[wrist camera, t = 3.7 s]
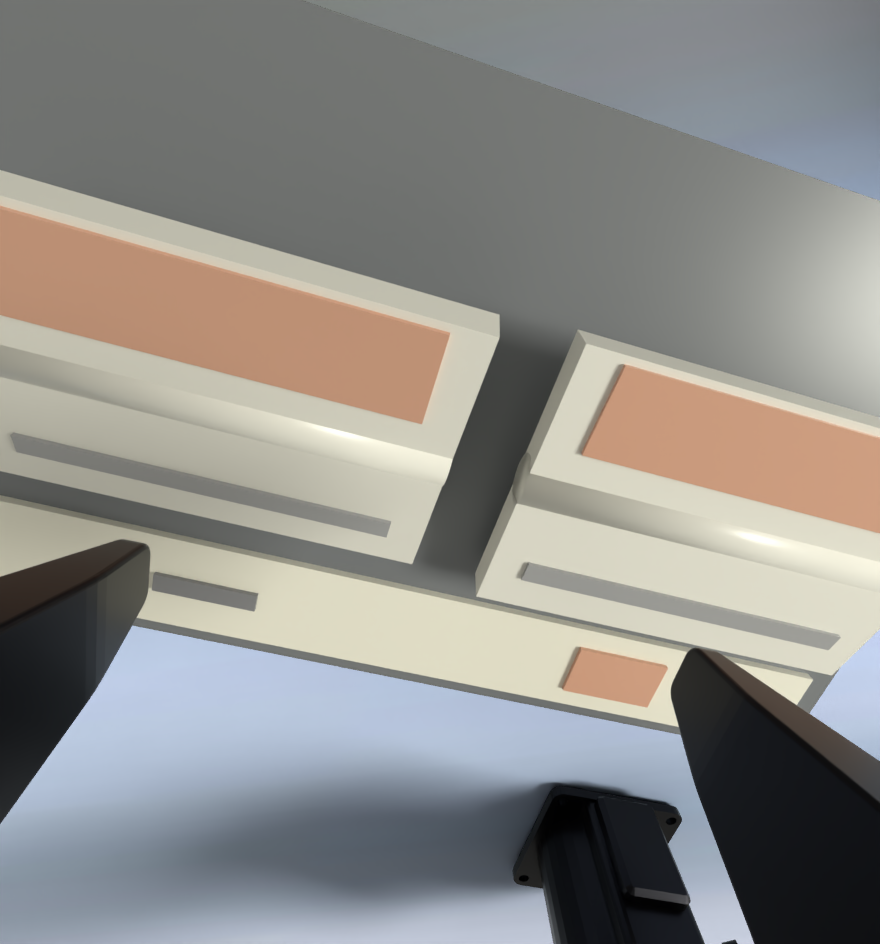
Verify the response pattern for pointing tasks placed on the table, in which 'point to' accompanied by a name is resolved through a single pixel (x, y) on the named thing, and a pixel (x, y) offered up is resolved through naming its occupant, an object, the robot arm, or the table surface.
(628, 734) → the table surface
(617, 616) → the cream slotted panel
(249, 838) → the table surface
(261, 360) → the rocker
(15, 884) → the table surface
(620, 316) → the switch panel
